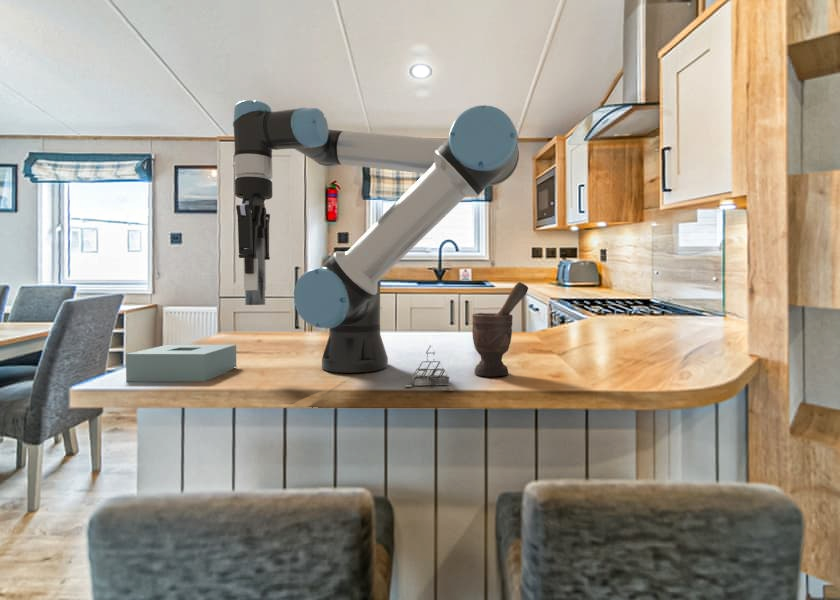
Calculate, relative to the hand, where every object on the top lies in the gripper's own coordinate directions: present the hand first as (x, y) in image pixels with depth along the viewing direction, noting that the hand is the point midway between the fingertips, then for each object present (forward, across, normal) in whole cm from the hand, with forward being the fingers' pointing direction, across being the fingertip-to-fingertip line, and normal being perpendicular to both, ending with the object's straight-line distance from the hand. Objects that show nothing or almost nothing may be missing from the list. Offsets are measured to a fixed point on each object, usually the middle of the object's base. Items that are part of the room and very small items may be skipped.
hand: (255, 289), depth 104 cm
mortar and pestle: (+19, -2, +52) cm, 55 cm away
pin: (+3, 0, 0) cm, 3 cm away
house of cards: (+19, +8, +36) cm, 42 cm away
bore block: (+18, -2, -16) cm, 25 cm away
